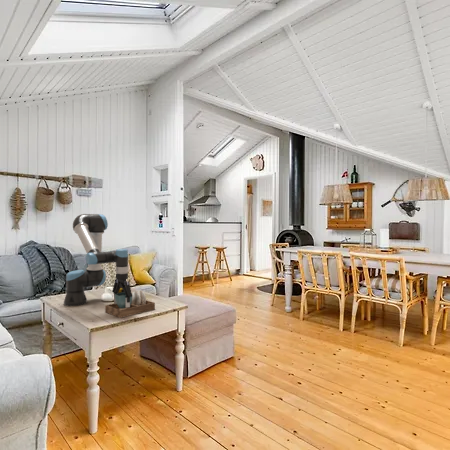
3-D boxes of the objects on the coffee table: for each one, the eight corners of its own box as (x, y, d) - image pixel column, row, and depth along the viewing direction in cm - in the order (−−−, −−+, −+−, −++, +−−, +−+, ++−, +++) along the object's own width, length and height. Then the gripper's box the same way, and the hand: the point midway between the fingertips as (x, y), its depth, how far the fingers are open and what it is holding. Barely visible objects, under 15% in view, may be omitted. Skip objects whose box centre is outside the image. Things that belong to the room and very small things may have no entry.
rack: (105, 312, 213) (105, 293, 213) (139, 304, 233) (139, 287, 233) (120, 317, 201) (120, 298, 201) (154, 309, 221) (154, 291, 221)
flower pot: (119, 310, 205) (118, 295, 205) (115, 308, 212) (114, 294, 212) (133, 307, 210) (132, 293, 210) (128, 305, 217) (127, 291, 217)
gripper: (106, 271, 217) (106, 303, 218) (127, 275, 201) (127, 310, 201) (117, 270, 223) (117, 301, 223) (137, 274, 206) (137, 307, 207)
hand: (121, 305), depth 212 cm, fingers open, 13 cm apart
